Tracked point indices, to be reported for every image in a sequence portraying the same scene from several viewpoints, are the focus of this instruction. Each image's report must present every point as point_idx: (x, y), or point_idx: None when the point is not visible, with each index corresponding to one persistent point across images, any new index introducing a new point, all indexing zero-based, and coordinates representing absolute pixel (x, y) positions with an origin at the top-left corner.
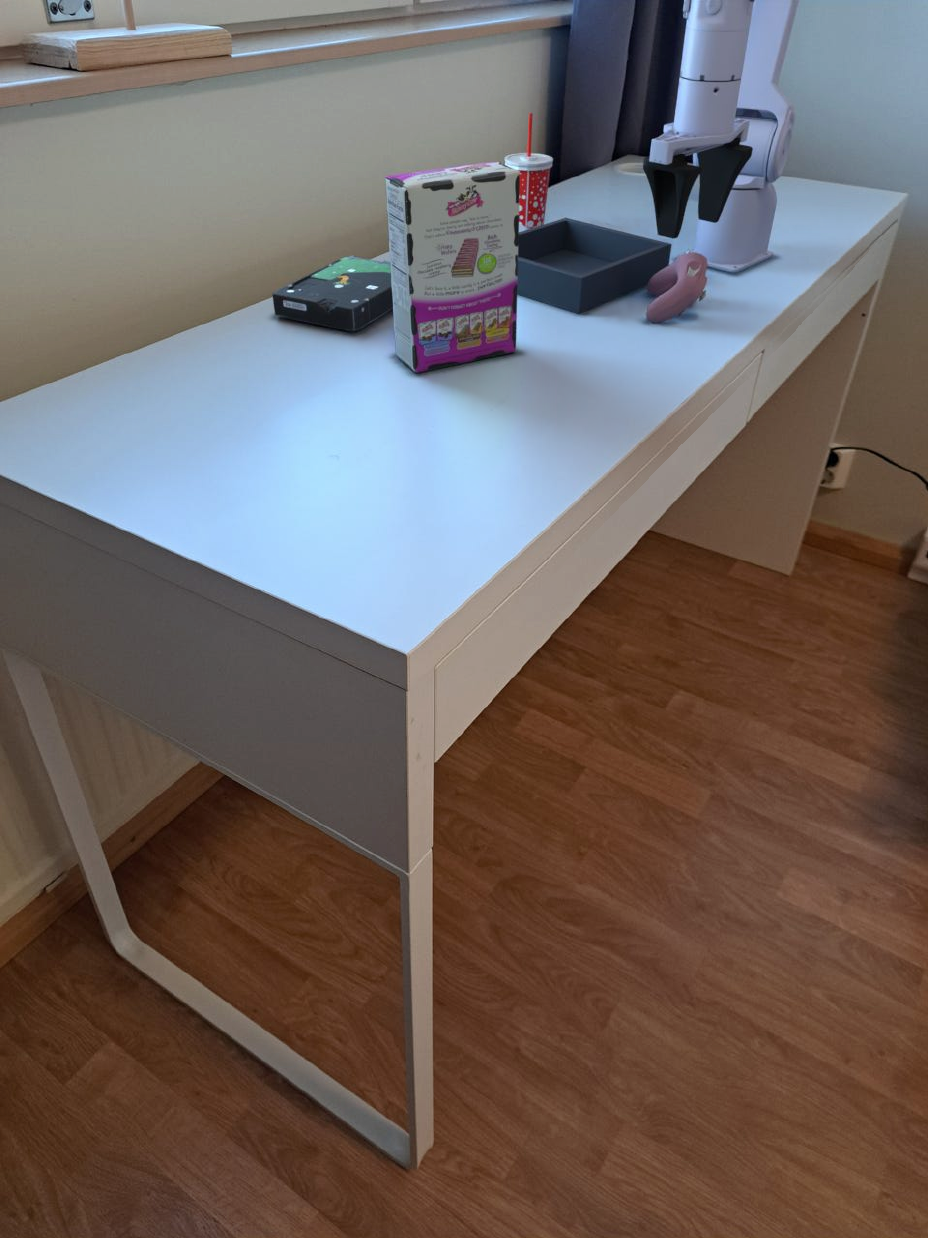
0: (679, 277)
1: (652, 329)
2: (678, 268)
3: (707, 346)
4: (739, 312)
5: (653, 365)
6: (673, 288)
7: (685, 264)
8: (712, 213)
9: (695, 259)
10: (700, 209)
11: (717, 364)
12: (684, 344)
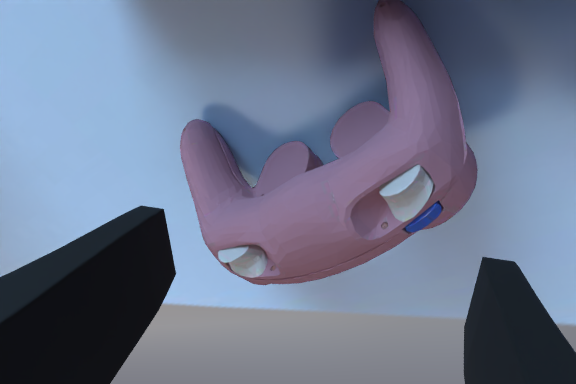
0: (215, 226)
1: (178, 149)
2: (266, 201)
3: (197, 267)
4: (424, 259)
5: (59, 226)
6: (198, 210)
7: (254, 236)
8: (471, 341)
9: (280, 263)
10: (485, 292)
11: None
12: (170, 232)
